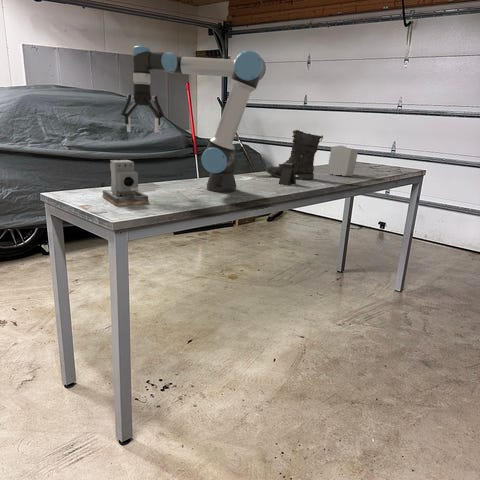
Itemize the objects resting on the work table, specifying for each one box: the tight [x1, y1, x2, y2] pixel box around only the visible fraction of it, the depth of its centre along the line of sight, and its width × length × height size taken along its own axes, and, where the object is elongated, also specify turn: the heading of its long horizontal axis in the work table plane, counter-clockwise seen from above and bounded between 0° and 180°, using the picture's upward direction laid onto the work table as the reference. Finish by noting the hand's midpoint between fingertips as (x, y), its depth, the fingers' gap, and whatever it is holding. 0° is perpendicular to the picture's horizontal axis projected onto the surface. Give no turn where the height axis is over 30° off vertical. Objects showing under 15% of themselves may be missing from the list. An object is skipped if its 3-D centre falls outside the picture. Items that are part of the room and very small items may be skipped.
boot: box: [265, 129, 324, 180], centre depth 254 cm, size 12×33×29 cm, turn 79°
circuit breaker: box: [109, 159, 139, 198], centre depth 172 cm, size 8×14×15 cm, turn 33°
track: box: [101, 189, 150, 207], centre depth 174 cm, size 14×18×3 cm
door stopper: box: [278, 161, 297, 186], centre depth 232 cm, size 9×6×12 cm, turn 140°
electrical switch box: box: [326, 145, 358, 177], centre depth 278 cm, size 15×15×20 cm
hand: (143, 132), depth 193 cm, fingers open, 13 cm apart
